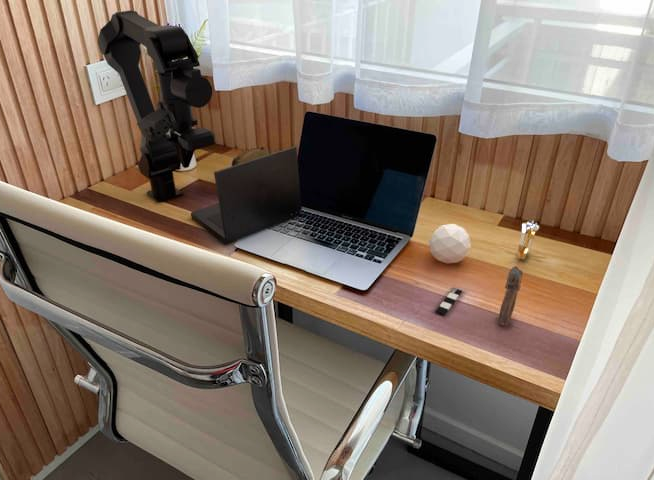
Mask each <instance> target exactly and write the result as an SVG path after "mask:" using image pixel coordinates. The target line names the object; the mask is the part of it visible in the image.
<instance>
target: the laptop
mask: <svg viewBox="0 0 654 480" xmlns="http://www.w3.org/2000/svg"><path fill="white" fill-rule="evenodd" d="M299 211H300V212H299ZM299 211H297V213H296V212H294V213H292V215H291V214H289V215H286V216H284V217H281V218H279V219H276V220H274V221H271V222H269V223H266V224H264V225H261V226H259V227H256V228H253V229H251V230H248V231H246V232H243V233H241V234H238V235H236V236H233V237H231V238H228V239H226V238H225V236H224V230H223V224H222V218H221V212H220V206H219V202H216V203H213V204H210V205H208V206H205V207H201V208H200V209H197V210H194V211H190V218H191V221H193V222H195V223H196V224H197V225H198V226H200V227H201V228H202V229H203V230H205V231H207V232H208V233H209V234H210V235H212V236H213V237H214V238H216V239H217V240H218V241H220V242H221V243H222V244H223V245H224V246H226V245H229V244H231V243H235V242H236V241H239V240H241V239H243V238H246V237H248V236H251V235H254V234H257V233H259V232H261V231H263V230H266V229H269V228H271V227H274V226H276V225H280V224H281V223H284V222H287V221H288V220H292V219H294V218H296V217H299V216H300V215H301V210H299Z"/></svg>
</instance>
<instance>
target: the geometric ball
mask: <svg viewBox="0 0 654 480" xmlns="http://www.w3.org/2000/svg"><path fill="white" fill-rule="evenodd" d="M428 244H429V250H430V253H431V255H432V256H433V257H434V258H435V260H437V261H439V262H441V263H443V264H446V265H447V264H458V263H460V262H461V261H462V260H464V259H465V258H466V257H467V255H468V254H469V251H470V250H471V248H472V245H471V239H470V235H469V233H468V232H467V231H466V229H465V228H464V227H462V226H460V225H458V224H455V223H448V224H441V225H439V227H437V228H436V229H435V230H434V232H433V233H432V235H431V236H430V238H429V240H428Z"/></svg>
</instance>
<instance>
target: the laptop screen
mask: <svg viewBox="0 0 654 480" xmlns="http://www.w3.org/2000/svg"><path fill="white" fill-rule="evenodd" d="M299 173H300V172H299V163H298V152H297V146H291V147H288V148H284V149H281V150H278V151H275V152H272V153H270V154H269V155H266V156H262V157H259V158H256V159H253V160H250V161H247V162H244V163H240V164H237V165H234V166H232V165H231V166H228V167H225V168H222V169H219V170H216V171H213V176H214V181H215V188H216V194H217V199H218V203H219V206H220V212H221V218H222V224H223V230H224V236H225V238H226V239H228V238H231V237H233V236H236V235H238V234H241V233H243V232H246V231H248V230H251V229H253V228H256V227H259V226H261V225H264V224H266V223H269V222H271V221H274V220H276V219H279V218H281V217H284V216H286V215H289V214H292V213H294V212H297V211H299V210H300V211H301V210H303V208H302V196H301V184H300V183H301V182H300V174H299Z"/></svg>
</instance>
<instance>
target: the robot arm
mask: <svg viewBox="0 0 654 480" xmlns="http://www.w3.org/2000/svg"><path fill="white" fill-rule="evenodd" d="M98 33H99V34H98V37H97V45H98V49H99V52H100V54H102V55H103V57H104V59H105V61H106V64H107V65H108V66H109V67H110V68H112V69H113V70H114V71H115V72H116V73H117V74H118V75H119V78H120V80H121V82H122V86H123V89H124V91H125V94H126V96H127V99H128V102H129V104H130V107H131V109H132V112H133V115H134V117H135V121H136V125H137V127H138V129H139V131H140V133H141V140H140V145H139V146H140V147H139V150H140V154H141V156H140V158H139V160H138V163H137V167H138V170H139V172H140V174H141V175H142V176H144V177H145V178H146V179H148V180H149V184H150V190H147V191H146V194H147V195H148V196H149V197H151V198H152V199H153V200H154V201H155V202H157V203H162V202H164V201H167V200H171V199H174V198H176V197H181V196H182V195H183V194H182V192H181V191H180V190H179V189H177V188H176V184H175V183H176V182H175V177H174V172H175V171H180V170H181V166H182V168H184V169H187V168H189V167H190V164H191V162H192V159H193V156H194V153H195V151H197V150H200V149H204V148H207V147H211V146H214V145H216V142H217V141H216V134H215V133H213V132H212V131H211V130H209V129H207V128H206V127H204V126H199V127H194V126H198V125H199V124H198V119H196V118H195V117H194V116H193V109H192V108H197V109H199V108H204V107H205V106H207V105H208V104H209V102H210V101H211V100H212V96H213V86H212V85H211V82H210V81H209V80H208V78H206V77H204V76H203V75H202V71H201V69H200V68H197V67H200V66H201V64H200V61H199V54H198V52H197V51H196V49H195V47H194V45H193V44H192V42H191V39H190V37H189V35H188V33H186V31H185V30H184V28H182V27H181V26H176V25H159V24H158V23H156V22H154V21H152V20H150V19H148V18H146V17H144V16H142V15H140V14H139V13H138V11H136V10H132V9H130V10H123V11H117V12H116V11H115V13H112V15H111V17H110V20H109V21H108V22H107V23H106V24H105V25H104V26H103V27H101V28H100V30H99V32H98ZM141 45H142V46H144V47H145V48H146V54H147V56H149V57H150V58H151V61H152V62H153V70H156V72H157V79H158V86H159V92H160V98H161V99H158V100H157V102H156V103H157V109H155V106H154V103H153V101H152V98H151V96H150V92H149V89H148V87H147V85H146V82H145V78H144V76H143V73H142V71H141V68H140V61H141V55H142V50H141Z"/></svg>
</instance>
